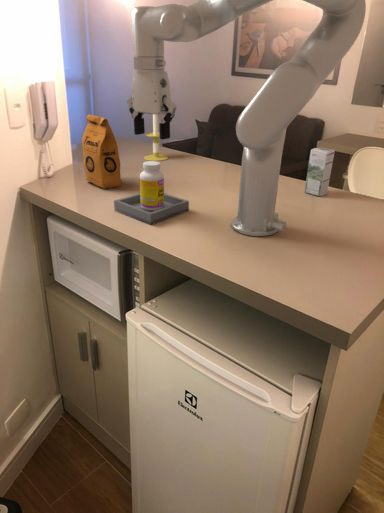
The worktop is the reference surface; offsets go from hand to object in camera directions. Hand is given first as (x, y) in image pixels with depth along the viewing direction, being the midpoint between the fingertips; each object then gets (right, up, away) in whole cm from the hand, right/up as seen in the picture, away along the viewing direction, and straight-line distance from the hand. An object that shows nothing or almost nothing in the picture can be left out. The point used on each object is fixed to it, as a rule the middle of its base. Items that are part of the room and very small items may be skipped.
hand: (152, 136), depth 110 cm
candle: (-4, +9, +65) cm, 66 cm away
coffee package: (-19, -7, +31) cm, 38 cm away
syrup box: (+52, -11, +28) cm, 60 cm away
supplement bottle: (-1, -18, +9) cm, 20 cm away
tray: (-1, -19, +10) cm, 21 cm away
